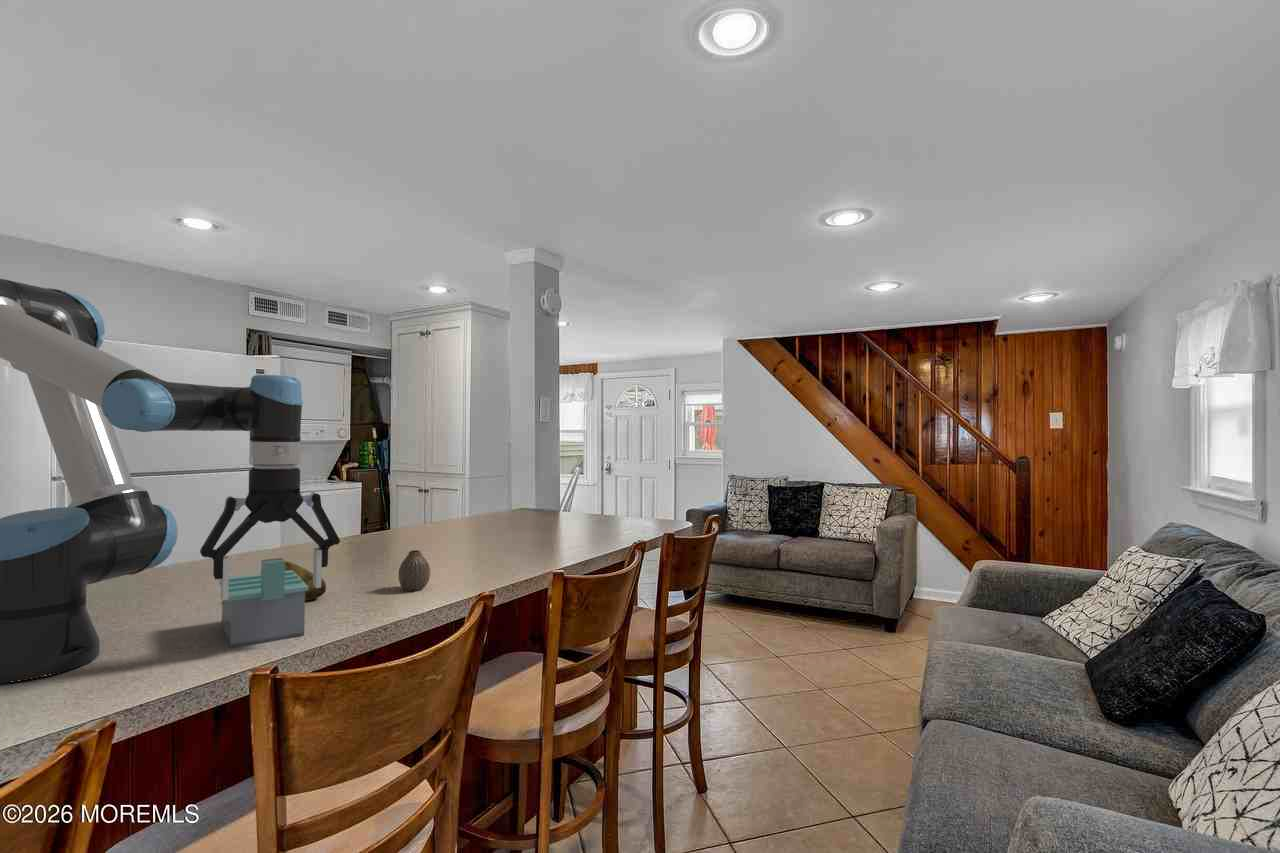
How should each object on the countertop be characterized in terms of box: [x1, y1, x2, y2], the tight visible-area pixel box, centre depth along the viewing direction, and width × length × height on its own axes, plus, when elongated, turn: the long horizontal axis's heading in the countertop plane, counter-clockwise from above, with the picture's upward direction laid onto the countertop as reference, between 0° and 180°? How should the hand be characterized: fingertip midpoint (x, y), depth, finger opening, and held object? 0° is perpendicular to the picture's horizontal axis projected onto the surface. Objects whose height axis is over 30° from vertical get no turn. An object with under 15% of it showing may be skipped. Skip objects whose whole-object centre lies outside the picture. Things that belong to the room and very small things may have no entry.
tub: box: [221, 591, 306, 648], centre depth 113 cm, size 11×15×8 cm
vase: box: [397, 549, 431, 592], centre depth 143 cm, size 7×7×9 cm
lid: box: [218, 557, 308, 601], centre depth 112 cm, size 12×20×7 cm, turn 39°
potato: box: [259, 560, 327, 602], centre depth 133 cm, size 8×13×8 cm, turn 72°
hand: (272, 592), depth 105 cm, fingers open, 13 cm apart
